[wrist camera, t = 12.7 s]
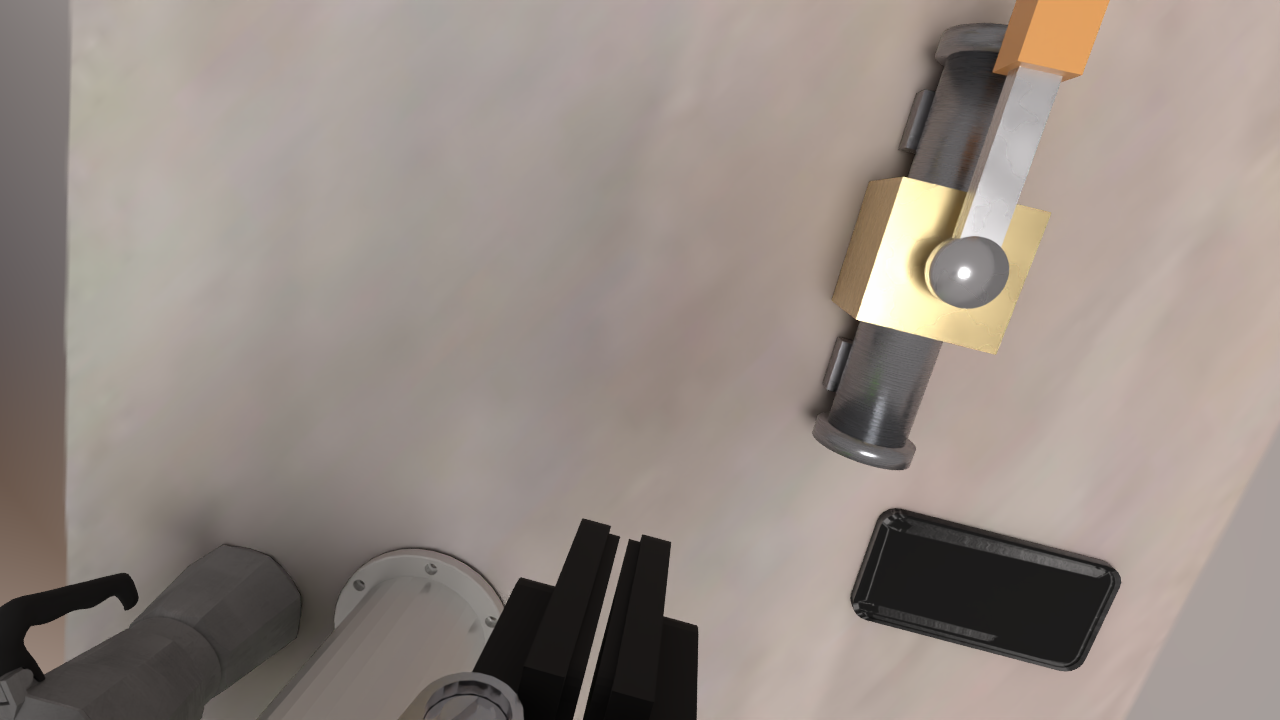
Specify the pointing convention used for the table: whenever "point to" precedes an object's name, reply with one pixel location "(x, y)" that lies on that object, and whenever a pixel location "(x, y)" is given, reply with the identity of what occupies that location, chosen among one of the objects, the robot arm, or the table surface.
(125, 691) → the coffeepot
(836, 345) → the valve pipe
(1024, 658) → the phone
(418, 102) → the table surface
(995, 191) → the valve lever
